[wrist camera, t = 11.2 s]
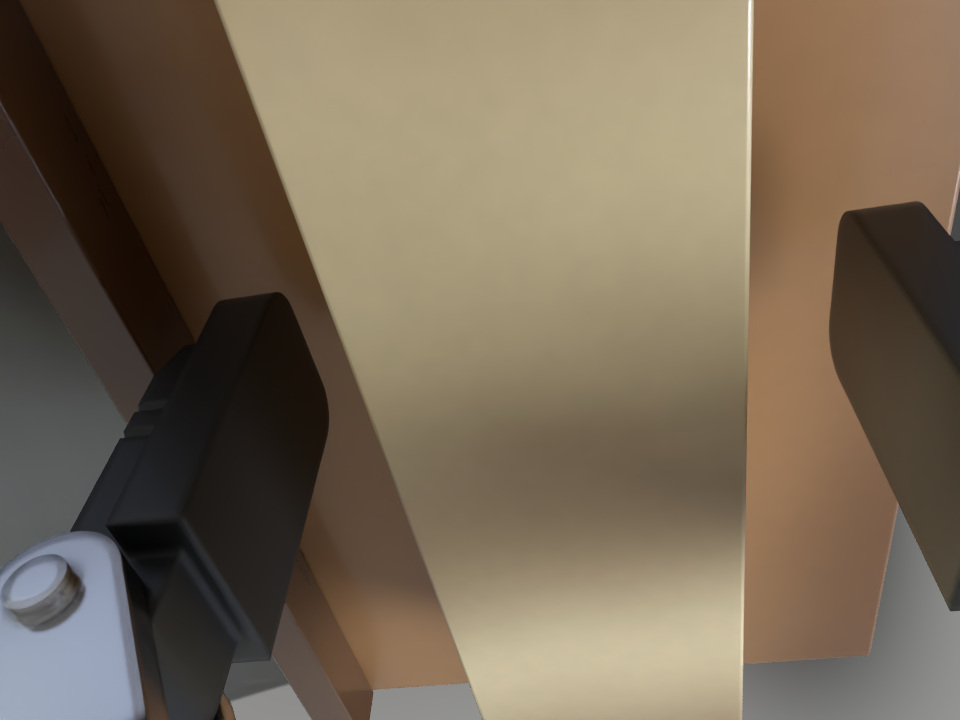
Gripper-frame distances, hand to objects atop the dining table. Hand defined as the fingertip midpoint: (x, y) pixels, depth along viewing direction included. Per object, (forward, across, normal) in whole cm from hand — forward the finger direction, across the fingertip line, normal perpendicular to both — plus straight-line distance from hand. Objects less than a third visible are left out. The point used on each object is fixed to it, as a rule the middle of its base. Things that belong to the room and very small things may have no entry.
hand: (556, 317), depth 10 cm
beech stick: (+1, 0, 0) cm, 1 cm away
